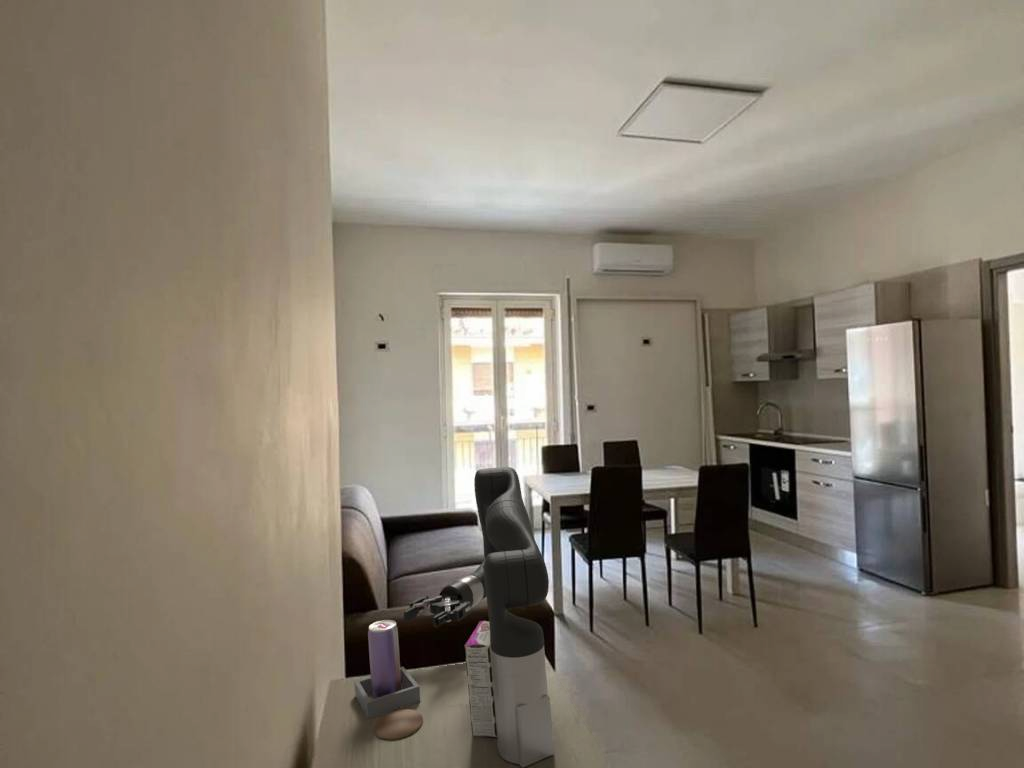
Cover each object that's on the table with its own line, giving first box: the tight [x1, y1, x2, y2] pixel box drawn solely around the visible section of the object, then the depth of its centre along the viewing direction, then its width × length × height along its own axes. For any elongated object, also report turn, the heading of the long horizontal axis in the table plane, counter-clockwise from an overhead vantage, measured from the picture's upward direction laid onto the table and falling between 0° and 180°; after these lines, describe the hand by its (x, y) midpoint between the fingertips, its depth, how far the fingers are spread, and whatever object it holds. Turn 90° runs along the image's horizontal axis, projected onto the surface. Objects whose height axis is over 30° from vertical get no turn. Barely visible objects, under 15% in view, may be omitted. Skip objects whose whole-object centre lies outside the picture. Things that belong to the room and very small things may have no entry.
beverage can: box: [367, 619, 403, 700], centre depth 116 cm, size 6×6×15 cm
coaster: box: [373, 708, 424, 740], centre depth 106 cm, size 9×9×1 cm
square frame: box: [354, 666, 421, 720], centre depth 116 cm, size 11×11×3 cm
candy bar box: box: [464, 620, 497, 738], centre depth 105 cm, size 11×5×16 cm, turn 168°
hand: (419, 619), depth 126 cm, fingers open, 8 cm apart
